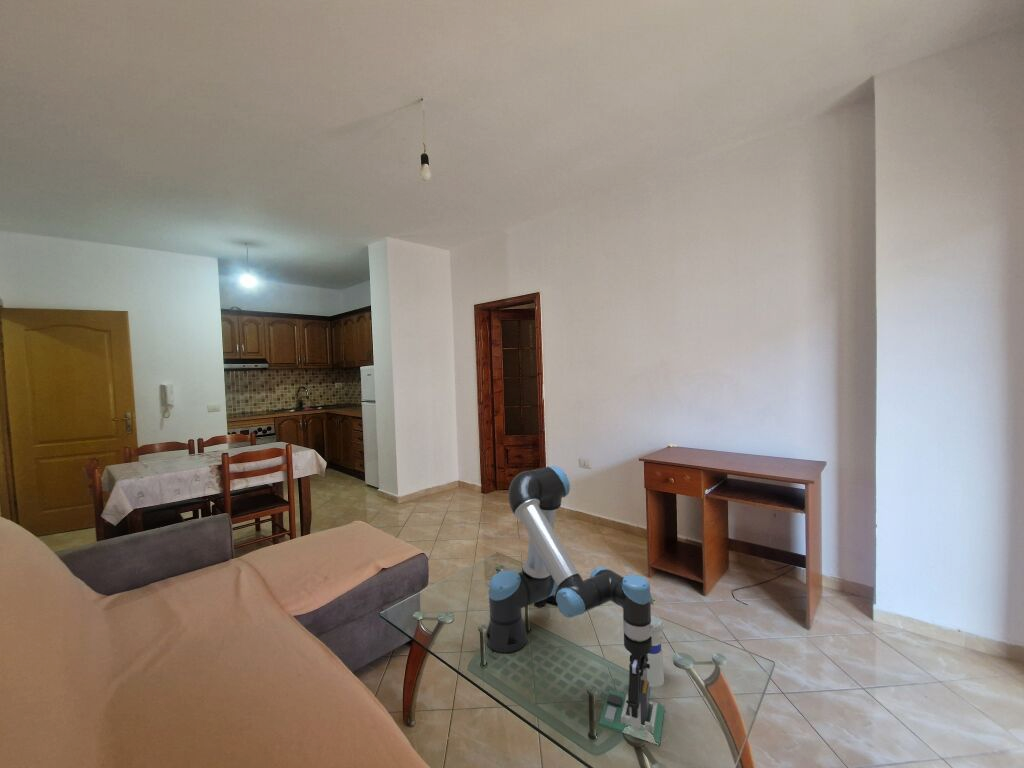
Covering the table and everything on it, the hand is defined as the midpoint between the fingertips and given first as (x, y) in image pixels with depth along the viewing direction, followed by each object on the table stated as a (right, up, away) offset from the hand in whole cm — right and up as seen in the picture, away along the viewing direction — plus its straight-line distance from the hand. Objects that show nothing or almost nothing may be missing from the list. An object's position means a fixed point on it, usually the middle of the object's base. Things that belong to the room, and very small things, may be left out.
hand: (639, 707), depth 118 cm
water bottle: (+9, -3, +16) cm, 18 cm away
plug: (0, -3, 0) cm, 3 cm away
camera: (-19, -3, +62) cm, 65 cm away
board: (-2, -4, +1) cm, 4 cm away
